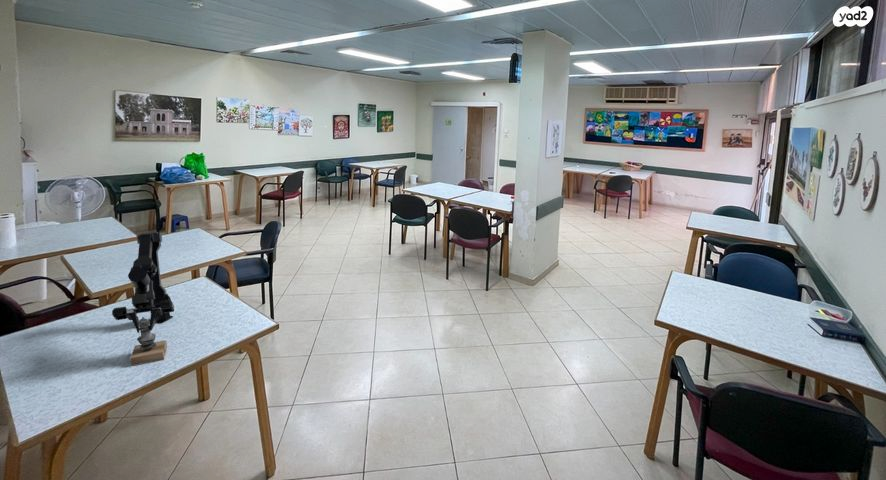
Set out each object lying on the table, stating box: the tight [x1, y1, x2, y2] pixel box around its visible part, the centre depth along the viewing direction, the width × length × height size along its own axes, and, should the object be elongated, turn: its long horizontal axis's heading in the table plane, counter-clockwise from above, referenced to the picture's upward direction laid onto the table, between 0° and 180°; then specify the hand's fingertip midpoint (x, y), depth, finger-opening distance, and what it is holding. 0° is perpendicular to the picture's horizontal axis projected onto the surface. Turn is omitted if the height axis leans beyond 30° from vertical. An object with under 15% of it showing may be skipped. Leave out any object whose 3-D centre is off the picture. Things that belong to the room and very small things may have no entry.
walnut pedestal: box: [129, 339, 168, 366], centre depth 166 cm, size 10×10×3 cm
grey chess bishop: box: [136, 316, 157, 350], centre depth 164 cm, size 6×6×12 cm
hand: (144, 331), depth 163 cm, fingers closed on grey chess bishop, 3 cm apart
